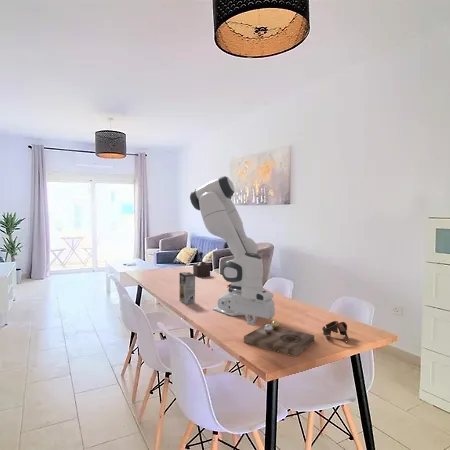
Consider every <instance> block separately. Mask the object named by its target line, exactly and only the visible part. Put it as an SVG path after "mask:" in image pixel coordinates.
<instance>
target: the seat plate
mask: <svg viewBox="0 0 450 450" xmlns="http://www.w3.org/2000/svg"><path fill="white" fill-rule="evenodd" d="M267 324H268V323H267ZM267 324H266V323H265V324H264V325H262V326H259V327H258V328H256V329H254V330H253V331H250V332H248V334H246V335H244V336H243V343H244V342H245V344H248V343H249V344H248V345H251V344H252V346H256V347H259V346H260V347H259V348H262V347H263V349H266V348H267V349H266V350H269V349H271V350H270V351H273V350H275V351H274V352H277V351H279V352H278V353H280V352H283V353H282V354H284V353H286V354H285V355H287V354H290V355H289V356H291V355H293V356H292V357H295V356H296V357H297V356H298V354H299V353H300V352H301V351H302V350H303V351H305V350H306V349H307V348H308V347H310V346H311V345H312V344H313V343H314V342H315V334H311V333H305V332H301V331H298V330H293V329H288V328H285V327H284V328H283V327H280V326H279V327H278V328H277V329H273V330H272V332H271V333H266V332H265V331H264V327H265V325H267ZM312 342H313V343H312ZM311 343H312V344H311ZM307 346H308V347H307ZM306 347H307V348H306ZM305 348H306V349H305ZM303 351H302V352H303ZM302 352H301V353H302ZM301 353H300V354H301Z"/></svg>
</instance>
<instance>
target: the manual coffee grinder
mask: <svg viewBox="0 0 450 450" xmlns="http://www.w3.org/2000/svg"><path fill="white" fill-rule="evenodd" d="M198 255H199V257H198V258H197V260H200V261H199V262H198V263H193V265H192V266H193V268H192V271H193V273H192V274H194V275H195V278H196V277H197V278H200V279H201V278H207V277H211V264H209V263H208V262H206V261H203V258H204V256H203V255H204V253H203V252H202V251H200V252H198Z"/></svg>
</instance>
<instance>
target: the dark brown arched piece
mask: <svg viewBox="0 0 450 450" xmlns="http://www.w3.org/2000/svg"><path fill="white" fill-rule="evenodd" d="M321 329H322V331H323V332H322V335H324V336H326V335H327V336H329V337H331V336H332V332H333V333H335V334H340V335H342V336H344V337H343V338H342V340H343V342H344V343H345V342H346V341H348V342H349V341H350V338H349V335H348V333H347V331H348V324H347V323H346V322H344V321H340V322H339V321H338V320H333V321H330V322H329V323H327V324H326V325H325V326H322V328H321Z"/></svg>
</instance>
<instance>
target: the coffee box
mask: <svg viewBox="0 0 450 450" xmlns="http://www.w3.org/2000/svg"><path fill="white" fill-rule="evenodd" d="M179 301H180V302H181V303H183V304H184V305H188V304H195V302H196V276H195V275H194V274H193V273H192V272H189V271H186V272H179Z"/></svg>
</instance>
